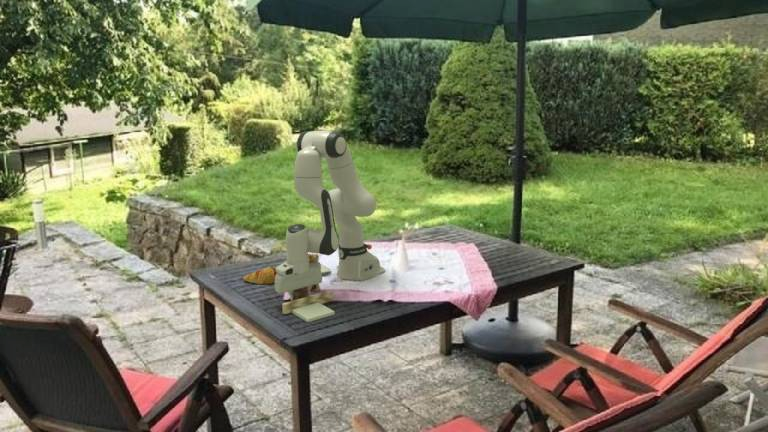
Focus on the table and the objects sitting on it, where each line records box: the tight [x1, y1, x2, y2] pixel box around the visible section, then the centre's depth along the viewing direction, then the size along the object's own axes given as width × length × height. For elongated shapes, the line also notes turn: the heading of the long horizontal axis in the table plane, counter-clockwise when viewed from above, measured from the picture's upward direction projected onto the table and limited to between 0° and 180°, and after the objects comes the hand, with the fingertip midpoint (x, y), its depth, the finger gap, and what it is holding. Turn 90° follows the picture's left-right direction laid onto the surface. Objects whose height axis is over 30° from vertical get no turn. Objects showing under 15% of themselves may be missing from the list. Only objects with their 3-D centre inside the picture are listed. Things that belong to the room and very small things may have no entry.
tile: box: [291, 302, 336, 323], centre depth 248 cm, size 12×12×1 cm
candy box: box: [304, 253, 320, 292], centre depth 272 cm, size 9×4×15 cm, turn 81°
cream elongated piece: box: [308, 252, 332, 275], centre depth 303 cm, size 9×32×4 cm, turn 18°
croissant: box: [242, 266, 277, 285], centre depth 284 cm, size 21×10×8 cm
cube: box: [292, 288, 308, 300], centre depth 259 cm, size 5×5×5 cm
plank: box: [281, 290, 334, 315], centre depth 254 cm, size 22×2×4 cm, turn 127°
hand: (299, 298), depth 259 cm, fingers closed on cube, 5 cm apart
